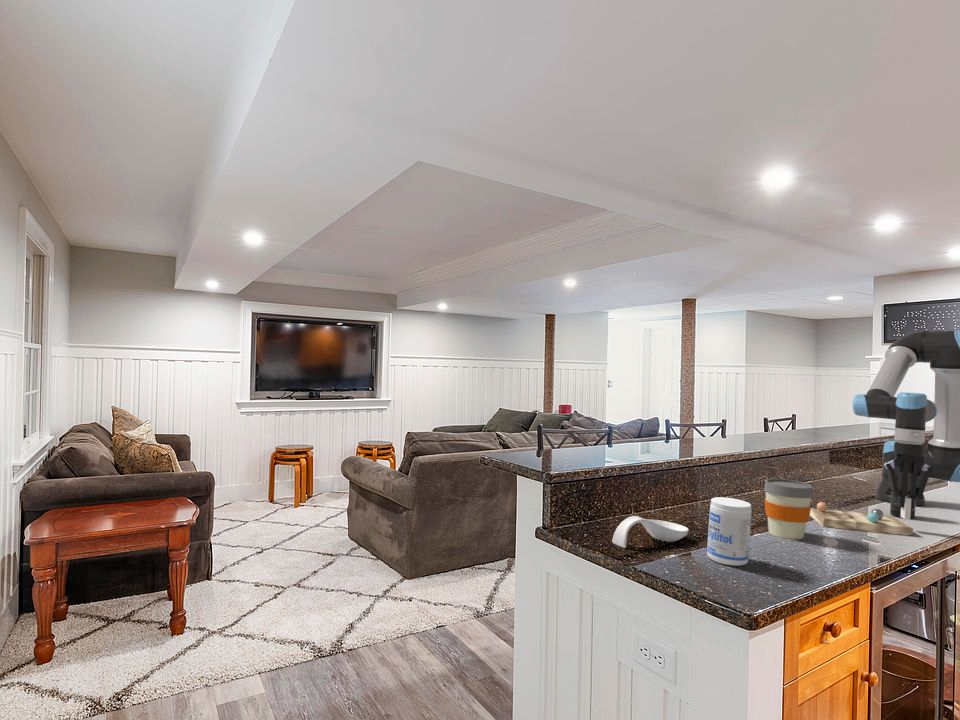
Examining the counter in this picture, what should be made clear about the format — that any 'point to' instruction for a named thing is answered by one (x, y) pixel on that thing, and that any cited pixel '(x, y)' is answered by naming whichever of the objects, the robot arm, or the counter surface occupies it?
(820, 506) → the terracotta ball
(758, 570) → the counter surface
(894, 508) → the supplement bottle
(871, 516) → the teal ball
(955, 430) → the robot arm
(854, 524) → the maple board
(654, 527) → the spoon rest
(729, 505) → the supplement tub
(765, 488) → the reusable coffee cup
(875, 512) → the steel ball
